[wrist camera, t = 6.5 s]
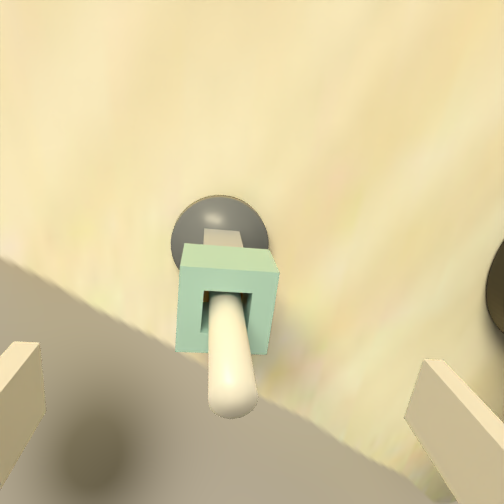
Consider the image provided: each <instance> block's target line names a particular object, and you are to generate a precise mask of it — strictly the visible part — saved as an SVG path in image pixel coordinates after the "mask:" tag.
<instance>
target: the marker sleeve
mask: <svg viewBox="0 0 504 504" xmlns="http://www.w3.org/2000/svg"><path fill="white" fill-rule="evenodd" d="M279 274H280V272H279V270H278V268H277V266H276V263H275V261H274V259H273V257H272V255H271V252H270V250H269V249H256V248H242V247H229V246H216V245H203V244H189V243H184V248H183V253H182V258H181V263H180V273H179V292H178V310H177V328H176V347H175V352H198V353H208V335H209V302H203V294H204V291H221V292H239V293H243V297H242V306H243V312H244V317H245V323H246V329H247V335H248V340H249V346H250V352H251V354H262V355H267V349H268V343H269V337H270V330H271V324H272V318H273V312H274V305H275V299H276V293H277V287H278V280H279Z"/></svg>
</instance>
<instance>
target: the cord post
mask: <svg viewBox="0 0 504 504" xmlns="http://www.w3.org/2000/svg"><path fill="white" fill-rule="evenodd" d="M184 243H189V244H203V245H216V246H229V247H242V248H256V249H268V235H267V231H266V228H265V226H264V224H263V222H262V220H261V218H260V216H259V215H258V213H257V212H256V211H255V210H254V209H253V208H252V207H251V206H250V205H248V204H247V203H245V202H244V201H242V200H240V199H237V198H234V197H231V196H225V195H214V196H208V197H205V198H202V199H199V200H197V201H195V202H194V203H192V204H191V205H189V206H188V207H187V208H186V209H185V210H184V211H183V212H182V213H181V215H180V216H179V218H178V220H177V222H176V224H175V226H174V229H173V233H172V237H171V251H172V256H173V259H174V262H175V264H176V266H177V267H178V269H179V270H180V263H181V258H182V253H183V248H184ZM242 297H243V293H239V292H221V291H204V294H203V302H209V335H208V403H209V407H210V409H211V410H212V411H213V412H214V413H215V414H216V415H218V416H220V417H223V418H227V419H235V418H240V417H243V416H245V415H247V414H248V413H250V412H251V411H252V410H253V409H254V408H255V406H256V404H257V402H258V392H257V386H256V380H255V375H254V369H253V363H252V358H251V352H250V346H249V340H248V335H247V329H246V323H245V317H244V312H243V306H242Z"/></svg>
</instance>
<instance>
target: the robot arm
mask: <svg viewBox="0 0 504 504" xmlns="http://www.w3.org/2000/svg"><path fill="white" fill-rule="evenodd" d="M487 304H488V309H489V312H490V315H491V317H492V319H493V321H494V323H495V324H496V326H497V327H498V328H499V329H500V330H501V331H502V332H503V333H504V242H503V244H502V245H501V247H500V249H499V251H498V253H497V255H496V257H495V259H494V261H493V264H492V267H491V270H490V273H489V278H488V283H487ZM45 413H46V401H45V391H44V381H43V370H42V360H41V350H40V343H34V342H13V343H12V344H11V345H10V346H9V348H8V349H7V350H6V351H5V352H4V353H3V354H2V355H1V356H0V490H1V488H2V486H3V485H4V483H5V481H6V480H7V478H8V476H9V474H10V473H11V471H12V469H13V467H14V466H15V464H16V462H17V461H18V459H19V457H20V455H21V454H22V452H23V450H24V449H25V447H26V445H27V444H28V442H29V440H30V438H31V437H32V435H33V433H34V432H35V430H36V428H37V426H38V425H39V423H40V421H41V420H42V418H43V416H44V414H45ZM404 419H405V420H406V422H407V423H408V425H409V427H410V428H411V430H412V431H413V433H414V434H415V436H416V438H417V439H418V441H419V442H420V444H421V445H422V447H423V449H424V450H425V452H426V453H427V455H428V456H429V458H430V460H431V461H432V463H433V464H434V466H435V467H436V469H437V471H438V472H439V474H440V475H441V477H442V478H443V480H444V482H445V483H446V485H447V486H448V488H449V489H450V491H451V493H452V494H453V496H454V497H455V499H456V500H457V502H458V503H459V504H504V423H503V422H502V421H501V420H500V419H499V418H498V417H497V416H496V415H495V414H494V413H493V412H492V411H491V409H490V408H489V407H488V406H487V405H486V404H485V403H484V402H483V401H482V400H481V399H480V398H479V397H478V396H477V395H476V394H475V393H474V392H473V391H472V390H471V389H470V388H469V386H468V385H467V384H466V383H465V382H464V381H463V380H462V379H461V378H460V377H459V376H458V375H457V374H456V373H455V372H454V371H453V370H452V369H451V368H450V367H449V366H448V364H447V363H446V362H445V361H444V360H440V359H423V362H422V365H421V368H420V371H419V374H418V377H417V380H416V383H415V386H414V389H413V392H412V395H411V398H410V401H409V404H408V407H407V410H406V413H405V416H404Z"/></svg>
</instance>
